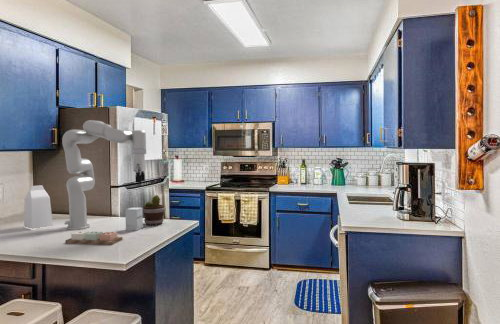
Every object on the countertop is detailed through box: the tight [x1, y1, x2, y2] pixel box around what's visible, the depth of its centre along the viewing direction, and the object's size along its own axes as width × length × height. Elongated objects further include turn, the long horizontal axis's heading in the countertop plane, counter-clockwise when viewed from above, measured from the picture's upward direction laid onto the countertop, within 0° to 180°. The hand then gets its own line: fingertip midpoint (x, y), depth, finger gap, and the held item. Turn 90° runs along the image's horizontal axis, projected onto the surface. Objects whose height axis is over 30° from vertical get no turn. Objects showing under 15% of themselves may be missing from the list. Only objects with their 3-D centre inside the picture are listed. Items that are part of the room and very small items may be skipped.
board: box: [64, 236, 124, 246], centre depth 185 cm, size 26×10×2 cm, turn 80°
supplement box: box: [124, 207, 144, 232], centre depth 212 cm, size 7×7×13 cm
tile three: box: [100, 231, 118, 241], centre depth 183 cm, size 6×6×3 cm
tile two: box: [85, 231, 104, 240], centre depth 184 cm, size 6×6×3 cm
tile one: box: [70, 230, 90, 240], centre depth 186 cm, size 6×6×3 cm
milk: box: [23, 184, 54, 229], centre depth 222 cm, size 12×12×26 cm
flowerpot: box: [141, 193, 166, 226], centre depth 226 cm, size 14×15×20 cm
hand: (140, 181), depth 205 cm, fingers open, 9 cm apart
